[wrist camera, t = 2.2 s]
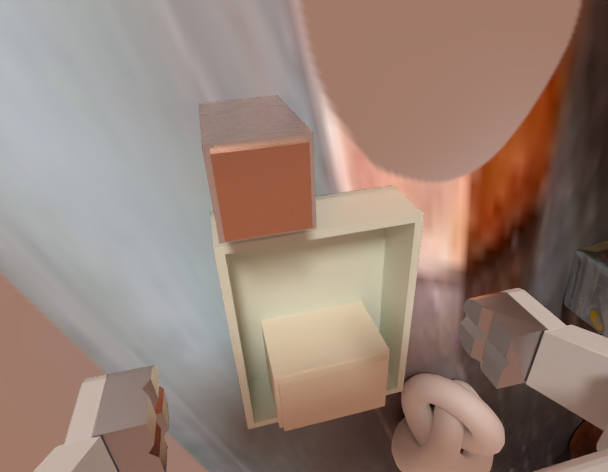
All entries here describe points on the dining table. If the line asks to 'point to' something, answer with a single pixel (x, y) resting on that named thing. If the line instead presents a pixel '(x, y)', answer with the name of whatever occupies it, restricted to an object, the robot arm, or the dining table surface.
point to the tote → (322, 281)
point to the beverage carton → (590, 286)
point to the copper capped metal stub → (258, 168)
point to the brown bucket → (585, 439)
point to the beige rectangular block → (325, 364)
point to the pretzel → (445, 427)
